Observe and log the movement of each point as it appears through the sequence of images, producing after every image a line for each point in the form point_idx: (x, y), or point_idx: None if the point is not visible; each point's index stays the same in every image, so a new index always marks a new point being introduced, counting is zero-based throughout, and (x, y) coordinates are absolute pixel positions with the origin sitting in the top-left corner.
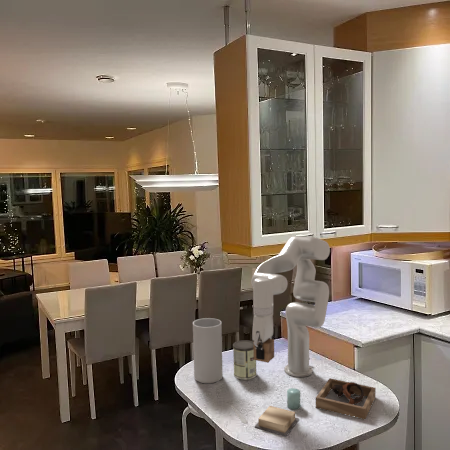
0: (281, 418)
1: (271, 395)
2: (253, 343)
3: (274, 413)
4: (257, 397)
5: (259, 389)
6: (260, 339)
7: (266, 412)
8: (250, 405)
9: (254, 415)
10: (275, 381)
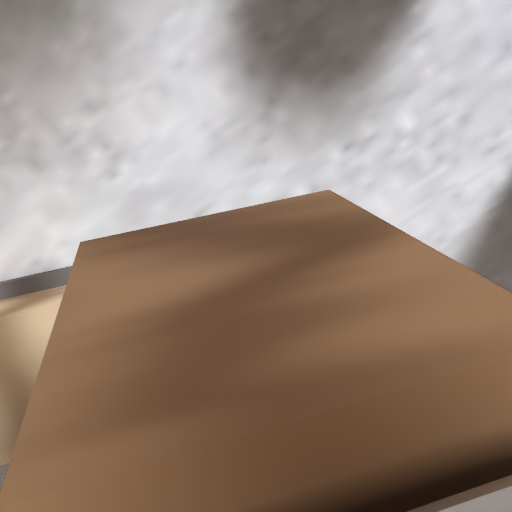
0: (18, 422)
1: (274, 162)
2: (7, 468)
3: (33, 368)
4: (201, 103)
5: (299, 49)
6: (393, 479)
7: (4, 331)
8: (83, 128)
9: (3, 223)
10: (441, 78)
